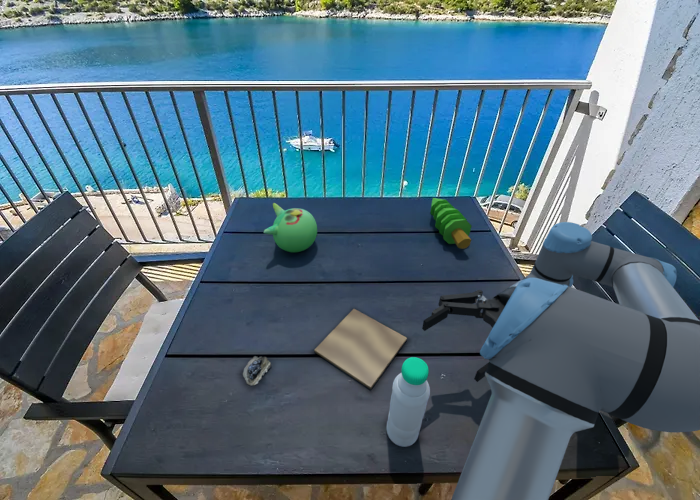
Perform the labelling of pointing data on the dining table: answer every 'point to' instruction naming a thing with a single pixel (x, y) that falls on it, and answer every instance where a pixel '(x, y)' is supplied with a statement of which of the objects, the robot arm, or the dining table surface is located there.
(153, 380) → the dining table surface
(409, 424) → the water bottle
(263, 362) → the geode
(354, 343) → the gold metal sheet
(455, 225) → the decorative tree
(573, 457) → the dining table surface
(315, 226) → the toy bird
